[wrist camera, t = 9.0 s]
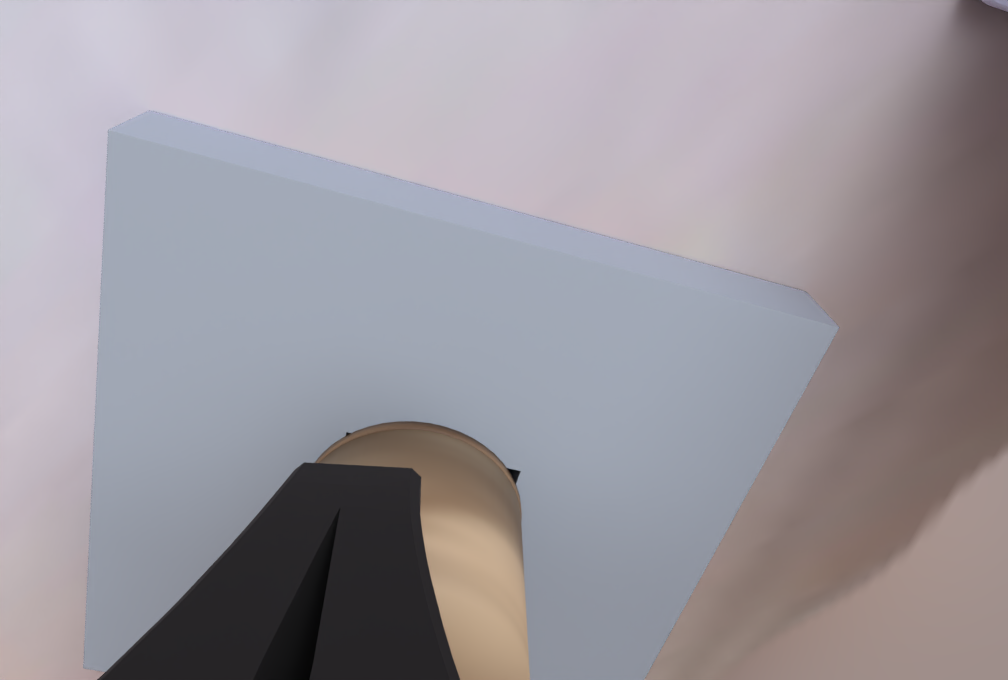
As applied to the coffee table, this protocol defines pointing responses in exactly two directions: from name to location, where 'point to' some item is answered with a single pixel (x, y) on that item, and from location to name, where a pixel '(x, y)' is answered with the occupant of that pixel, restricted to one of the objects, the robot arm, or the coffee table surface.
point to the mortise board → (419, 379)
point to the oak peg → (461, 538)
